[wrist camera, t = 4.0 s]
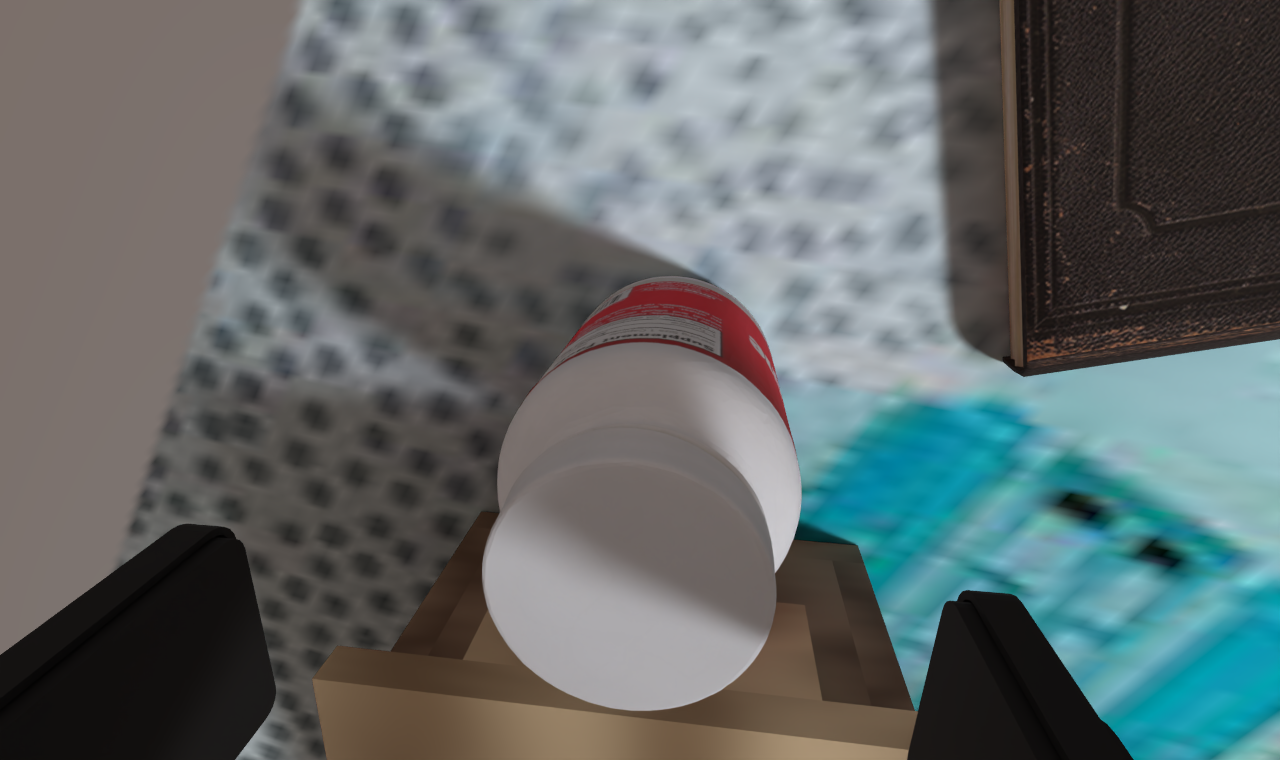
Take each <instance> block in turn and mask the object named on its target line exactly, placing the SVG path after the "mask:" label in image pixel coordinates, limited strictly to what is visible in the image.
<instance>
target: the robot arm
mask: <svg viewBox="0 0 1280 760" xmlns="http://www.w3.org/2000/svg"><path fill="white" fill-rule="evenodd" d="M275 696H276V686H275V681H274V677H273V672H272V668H271V663H270V659H269V654H268V650H267V645H266V641H265V636H264V632H263V627H262V623H261V618H260V614H259V609H258V604H257V600H256V595H255V591H254V586H253V582H252V577H251V573H250V568H249V564H248V559H247V555H246V550H245V547H244V545H243V543H242V542H241V541H240V540H237V539H236V537H235V535H234V533H233V532H232V531H231V530H230V529H228V528H225V527H219V526H207V525H195V524H182V525H179V526H177V527H175V528H173V529H171V530H170V531H169V532H167V533H166V534H165V535H163V536H162V537H160V538H159V539H158V540H156V541H155V542H154V543H152V544H151V545H150V546H148V547H147V548H145V549H144V550H143V551H141V552H140V553H139V554H137V555H136V556H135V557H133V558H132V559H130V560H129V561H128V562H126V563H125V564H124V565H122V566H121V567H120V568H118V569H117V570H115V571H114V572H113V573H111V574H110V575H109V576H107V577H106V578H105V579H103V580H102V581H101V582H99V583H98V584H96V585H95V586H94V587H92V588H91V589H90V590H88V591H87V592H85V593H84V594H83V595H82V596H80V597H79V598H77V599H76V600H75V601H73V602H72V603H71V604H69V605H68V606H66V607H65V608H64V609H62V610H61V611H60V612H58V613H57V614H56V615H54V616H53V617H51V618H50V619H49V620H47V621H46V622H45V623H43V624H42V625H41V626H39V627H38V628H37V629H35V630H34V631H32V632H31V633H30V634H28V635H27V636H26V637H24V638H23V639H22V640H20V641H19V642H17V643H16V644H15V645H14V646H12V647H11V648H9V649H8V650H6V651H5V652H4V653H2V654H1V655H0V760H235V759H236V758H237V756H238V755H239V754H240V752H241V751H242V750H243V749H244V747H245V746H246V745H247V743H248V742H249V741H250V739H251V738H252V737H253V735H254V734H255V733H256V731H257V730H258V729H259V727H260V726H261V725H262V723H263V722H264V721H265V719H266V718H267V716H268V715H269V713H270V711H271V709H272V707H273V704H274V701H275ZM907 760H1133V758H1132V757H1131V755H1130V754H1129V752H1128V751H1127V749H1126V748H1125V746H1124V745H1123V744H1122V742H1121V741H1120V739H1119V738H1118V736H1117V735H1116V734H1115V733H1114V732H1113V730H1112V729H1111V728H1110V727H1109V726H1108V725H1107V724H1106V723H1105V722H1103V721H1102V720H1100V718H1099V717H1098V715H1097V714H1096V712H1095V711H1094V709H1093V708H1092V706H1091V705H1090V703H1089V702H1088V700H1087V699H1086V697H1085V696H1084V694H1083V693H1082V691H1081V690H1080V688H1079V687H1078V685H1077V684H1076V682H1075V681H1074V679H1073V678H1072V676H1071V675H1070V673H1069V672H1068V670H1067V669H1066V668H1065V666H1064V665H1063V663H1062V662H1061V660H1060V659H1059V657H1058V656H1057V654H1056V653H1055V651H1054V650H1053V648H1052V647H1051V645H1050V644H1049V642H1048V641H1047V639H1046V638H1045V636H1044V635H1043V633H1042V632H1041V630H1040V629H1039V627H1038V626H1037V624H1036V623H1035V621H1034V620H1033V618H1032V617H1031V615H1030V614H1029V612H1028V611H1027V609H1026V608H1025V607H1024V605H1023V604H1022V602H1021V601H1020V600H1019V599H1018V598H1017V597H1016V596H1014V595H1012V594H1005V593H993V592H981V591H970V590H966V591H963V592H962V593H961V594H960V595H959V597H958V600H957V601H947V602H946V603H945V605H944V607H943V610H942V614H941V618H940V622H939V627H938V631H937V635H936V639H935V643H934V647H933V651H932V656H931V660H930V664H929V668H928V672H927V676H926V680H925V685H924V689H923V693H922V697H921V701H920V705H919V710H918V714H917V718H916V722H915V726H914V730H913V734H912V739H911V743H910V747H909V751H908V757H907Z"/></svg>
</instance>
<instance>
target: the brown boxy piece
mask: <svg viewBox="0 0 1280 760" xmlns="http://www.w3.org/2000/svg"><path fill="white" fill-rule="evenodd" d="M498 515H499V513H492V512H481V513H480V514H479V516H478V517H477V519H476V521H475V522H474V524H473V525H472V527H471V528H470V530H469V531H468V533H467V534H466V536H465V537H464V539H463V541H462V542H461V544H460V545H459V547H458V548H457V550H456V551H455V553H454V554H453V556H452V557H451V559H450V561H449V562H448V564H447V565H446V567H445V568H444V570H443V571H442V573H441V574H440V576H439V578H438V579H437V581H436V582H435V584H434V585H433V587H432V588H431V590H430V591H429V593H428V594H427V596H426V598H425V599H424V601H423V602H422V604H421V605H420V607H419V608H418V610H417V611H416V613H415V614H414V616H413V618H412V619H411V621H410V622H409V624H408V625H407V627H406V628H405V630H404V631H403V633H402V634H401V636H400V638H399V639H398V641H397V642H396V644H395V645H394V647H393V648H392V650H391V651H390V652H398V653H407V654H416V655H425V656H433V657H442V658H451V659H460V660H463V658H464V656H465V654H466V652H467V650H468V648H469V646H470V644H471V642H472V640H473V638H474V636H475V634H476V632H477V630H478V628H479V626H480V624H481V622H482V620H483V618H484V616H485V614H486V612H487V610H488V607H487V604H486V599H485V595H484V591H483V583H482V562H483V555H484V550H485V546H486V542H487V539H488V536H489V534H490V531H491V528H492V527H493V525H494V523H495V521H496V519H497V517H498ZM775 579H776V602H779V603H789V604H799V605H805V610H806V615H807V620H808V626H809V631H810V636H811V642H812V647H813V653H814V658H815V663H816V669H817V674H818V680H819V685H820V690H821V696H822V701H830V702H839V703H848V704H856V705H865V706H874V707H883V708H892V709H901V710H909V711H915V710H914V707H913V704H912V701H911V698H910V695H909V692H908V690H907V687H906V684H905V681H904V678H903V675H902V672H901V669H900V666H899V664H898V661H897V658H896V655H895V652H894V649H893V646H892V643H891V640H890V637H889V635H888V632H887V629H886V626H885V623H884V620H883V617H882V614H881V611H880V609H879V606H878V603H877V600H876V597H875V594H874V591H873V588H872V585H871V582H870V580H869V577H868V574H867V571H866V568H865V565H864V562H863V559H862V556H861V554H860V551H859V548H858V546H857V545H846V544H835V543H824V542H813V541H802V540H793V541H792V544H791V546H790V548H789V551H788V553H787V555H786V557H785V559H784V561H783V562H782V564H781V565H780V567H779V569H778V570H777V571H776V573H775Z"/></svg>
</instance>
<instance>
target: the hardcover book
mask: <svg viewBox="0 0 1280 760" xmlns="http://www.w3.org/2000/svg"><path fill="white" fill-rule="evenodd" d="M999 2H1000V34H1001V65H1002V97H1003V128H1004V160H1005V191H1006V223H1007V254H1008V286H1009V317H1010V349H1011V356H1006V357H1003V362H1004V363H1005V364H1006V365H1007V366H1008V367H1009V368H1011V369H1012V370H1013V371H1014V372H1016V373H1018V374H1020V375H1021V376H1023V377H1026V376H1033V375H1039V374H1046V373H1053V372H1060V371H1067V370H1073V369H1080V368H1087V367H1094V366H1100V365H1107V364H1114V363H1121V362H1128V361H1134V360H1141V359H1148V358H1155V357H1161V356H1168V355H1175V354H1182V353H1189V352H1195V351H1202V350H1209V349H1216V348H1222V347H1229V346H1236V345H1243V344H1250V343H1256V342H1263V341H1270V340H1277V339H1280V0H999Z"/></svg>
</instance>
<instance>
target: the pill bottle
mask: <svg viewBox="0 0 1280 760" xmlns="http://www.w3.org/2000/svg"><path fill="white" fill-rule="evenodd" d="M497 494H498V502H499V508H500V513H499V515H498V517H497V519H496V521H495V523H494V525H493V527H492V528H491V531H490V534H489V536H488V539H487V542H486V546H485V550H484V555H483V562H482V583H483V591H484V595H485V599H486V604H487V607H488V610H489V613H490V615H491V617H492V620H493V622H494V624H495V625H496V627H497V629H498V631H499V633H500V634H501V636H502V637H503V639H504V640H505V642H506V643H507V645H508V646H509V648H510V649H511V650H512V651H513V652H514V653H515V655H516V656H517V657H518V658H519V659H520V660H521V662H522V663H523V664H525V665H526V666H527V667H528V668H529V669H531V670H532V671H533V672H534V673H535V674H537V675H538V676H539V677H541V678H542V679H543V680H545V681H546V682H548V683H549V684H551V685H553V686H554V687H556V688H558V689H560V690H562V691H564V692H565V693H567V694H569V695H572V696H574V697H577V698H579V699H582V700H584V701H587V702H590V703H593V704H597V705H601V706H605V707H608V708H614V709H622V710H631V711H652V710H663V709H670V708H675V707H680V706H684V705H688V704H691V703H694V702H697V701H699V700H702V699H704V698H706V697H708V696H711V695H713V694H715V693H717V692H719V691H721V690H722V689H723V688H725V687H726V686H727V685H729V684H730V683H732V682H733V681H734V680H736V679H737V678H738V677H739V676H740V675H741V674H742V673H743V672H744V671H745V670H746V669H747V668H748V667H749V666H750V665H751V663H752V662H753V661H754V660H755V658H756V657H757V656H758V654H759V652H760V651H761V649H762V647H763V646H764V644H765V642H766V640H767V638H768V635H769V632H770V630H771V626H772V623H773V618H774V614H775V609H776V579H775V573H776V571H777V570H778V569H779V567H780V565H781V564H782V562H783V561H784V559H785V557H786V555H787V553H788V551H789V548H790V546H791V544H792V541H793V539H794V536H795V532H796V529H797V525H798V521H799V516H800V510H801V477H800V471H799V465H798V460H797V455H796V450H795V446H794V442H793V438H792V435H791V431H790V428H789V424H788V420H787V416H786V412H785V408H784V403H783V399H782V395H781V392H780V387H779V384H778V380H777V376H776V372H775V368H774V364H773V360H772V356H771V353H770V349H769V346H768V344H767V341H766V338H765V336H764V334H763V332H762V330H761V328H760V326H759V325H758V323H757V321H756V320H755V319H754V317H753V316H752V315H751V313H750V312H749V311H748V310H747V309H746V308H745V307H744V306H743V305H742V304H741V303H740V302H739V301H738V300H737V299H736V298H734V297H733V296H732V295H730V294H729V293H727V292H726V291H724V290H722V289H720V288H718V287H716V286H714V285H712V284H710V283H707V282H704V281H701V280H698V279H694V278H688V277H681V276H662V277H653V278H648V279H644V280H640V281H637V282H635V283H632V284H630V285H628V286H625V287H624V288H622V289H620V290H618V291H617V292H615V293H614V294H612V295H611V296H609V297H608V298H607V299H606V300H605V301H603V302H602V303H601V304H600V305H599V306H598V307H597V308H596V309H595V310H594V311H593V312H592V314H591V315H590V316H589V317H588V318H587V319H586V321H585V322H584V323H583V325H582V326H581V328H580V329H579V330H578V332H577V333H576V334H575V336H574V337H573V338H572V339H571V341H570V342H569V343H568V345H567V346H566V347H565V348H564V350H563V351H562V352H561V354H560V355H559V356H558V357H557V358H556V360H555V361H554V362H553V364H552V365H551V366H550V367H549V369H548V370H547V371H546V373H545V374H544V375H543V376H542V378H541V379H540V380H539V381H538V383H537V384H536V385H535V386H534V387H533V388H532V389H531V390H530V392H529V393H528V395H527V396H526V398H525V400H524V401H523V403H522V404H521V406H520V407H519V409H518V410H517V412H516V414H515V416H514V417H513V419H512V421H511V423H510V425H509V427H508V430H507V433H506V435H505V438H504V441H503V444H502V448H501V452H500V456H499V463H498V476H497Z"/></svg>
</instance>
